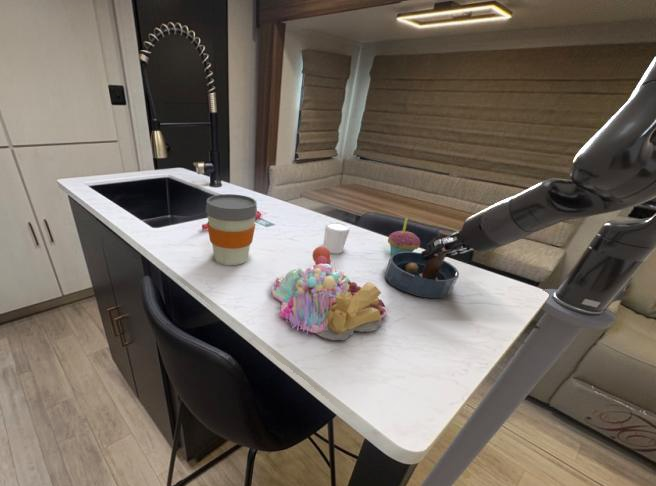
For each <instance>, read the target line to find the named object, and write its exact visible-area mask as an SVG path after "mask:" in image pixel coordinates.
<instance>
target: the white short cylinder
mask: <svg viewBox="0 0 656 486" xmlns="http://www.w3.org/2000/svg"><path fill="white" fill-rule="evenodd" d="M349 233H350V227H349V226H348V225H346V224H344V223H339V222H329V223H326V224H325V226H324V236H323V245H322V246H324V247H326V248H328V250H329V251H330V254H341V253H342V252H343V251H344V247H345V245H346V241H347V239H348V236H349Z"/></svg>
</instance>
